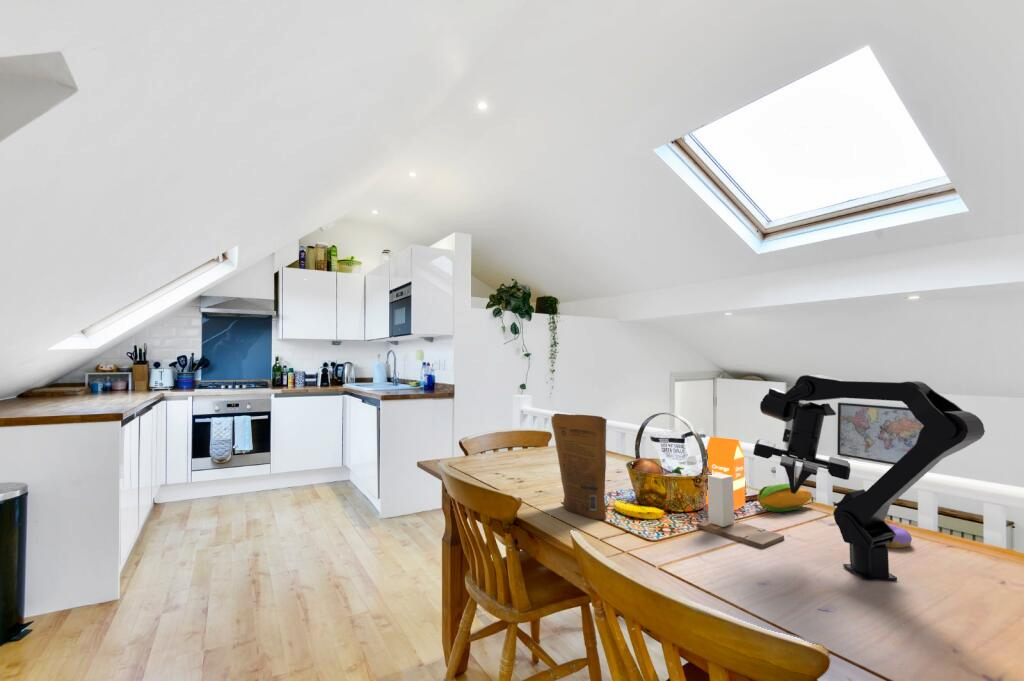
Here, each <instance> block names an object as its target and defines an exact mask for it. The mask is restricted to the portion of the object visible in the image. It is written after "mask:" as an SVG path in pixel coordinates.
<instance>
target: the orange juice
mask: <svg viewBox="0 0 1024 681" xmlns="http://www.w3.org/2000/svg"><path fill="white" fill-rule="evenodd" d="M706 450H707V453H708V467H709V470H710V471H711V474H717V473H721V474H726V475H731V476H733V491H734V510H735V509H737V508H739V507H742V506H743V505H745V506H746V476H745V474H746V473H745V456H744V453H743V449H742V447H741V443H740V440H739V439H737V438H736V439H735V438H726V437H719V436H718V437H717V436H709V440H708V442H707V447H706ZM706 503H707V504H708V490H707V496H706Z"/></svg>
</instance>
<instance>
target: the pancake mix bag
mask: <svg viewBox="0 0 1024 681" xmlns="http://www.w3.org/2000/svg"><path fill="white" fill-rule="evenodd" d="M550 421H551V427H552V430H553V436H554V442H555V449H556V453H557V460H558V466H559V470H560V479H561V483H562V484H561V485H562V488H563V494H564V497H563V507H562V508H563V510H565V511H567V512H570V513H574V514H575V515H580V516H583V517H586V518H588V519H592V520H607V512H606V501H605V500H606V498H605V492H606V471H607V458H606V457H607V421H608V419H606V418H605V417H603V416H600V415H588V414H569V413H568V414H566V413H554V415H553V416H551V420H550Z"/></svg>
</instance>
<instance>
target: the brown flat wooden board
mask: <svg viewBox="0 0 1024 681" xmlns="http://www.w3.org/2000/svg"><path fill="white" fill-rule="evenodd" d="M697 527H699V528H698V529H700V528H701V530H704V531H707V532H709V533H713V534H716V535H719V536H722V537H725V538H727V539H731V540H734V541H738V542H740V543H743V544H747V545H750V546H753V547H756V548H758V549H761V550H762V549H765V548H768V547H770V546H772V545H774V544H777V543H779V542H782V541H784V540H785V535H784V534H781V533H777V532H774V531H770V530H766V528H763V527H761V528H760V527H757V526H754V525H750V524H747V523H743V522H739V520H735V519H734V523H733V524H730V525H727V526H724V527H722V526H718V525H715V524H712V523H709V519H707V520H703V521H700V522H697V523H696V528H697Z"/></svg>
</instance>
